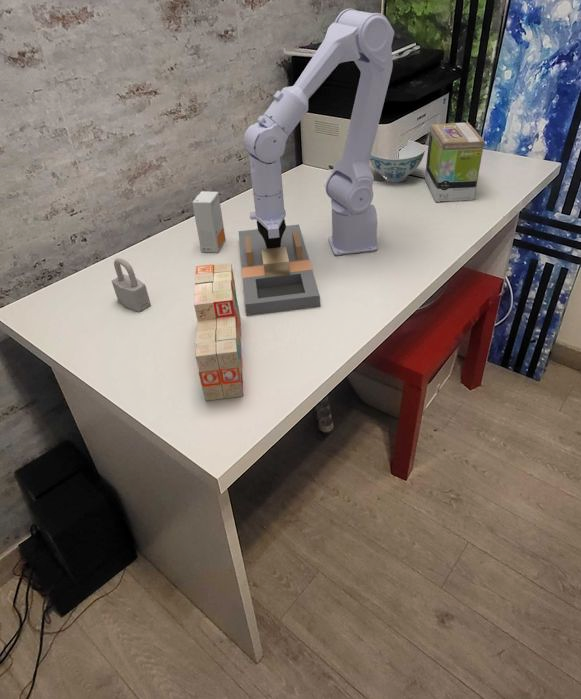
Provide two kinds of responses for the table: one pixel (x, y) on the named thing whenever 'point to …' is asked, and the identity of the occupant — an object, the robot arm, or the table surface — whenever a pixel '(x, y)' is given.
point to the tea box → (453, 161)
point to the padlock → (129, 287)
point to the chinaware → (400, 162)
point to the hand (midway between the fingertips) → (274, 253)
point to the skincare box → (209, 221)
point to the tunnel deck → (278, 289)
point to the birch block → (275, 262)
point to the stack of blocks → (218, 332)
